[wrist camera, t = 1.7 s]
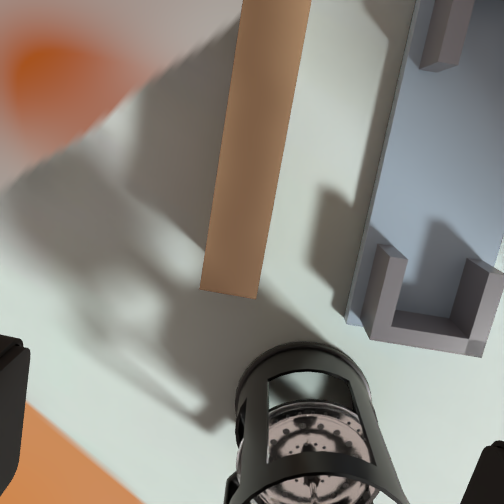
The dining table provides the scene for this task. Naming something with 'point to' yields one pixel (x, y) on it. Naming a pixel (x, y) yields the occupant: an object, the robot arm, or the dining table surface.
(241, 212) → the slat
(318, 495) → the french press
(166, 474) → the dining table surface
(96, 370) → the dining table surface
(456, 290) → the cradle
